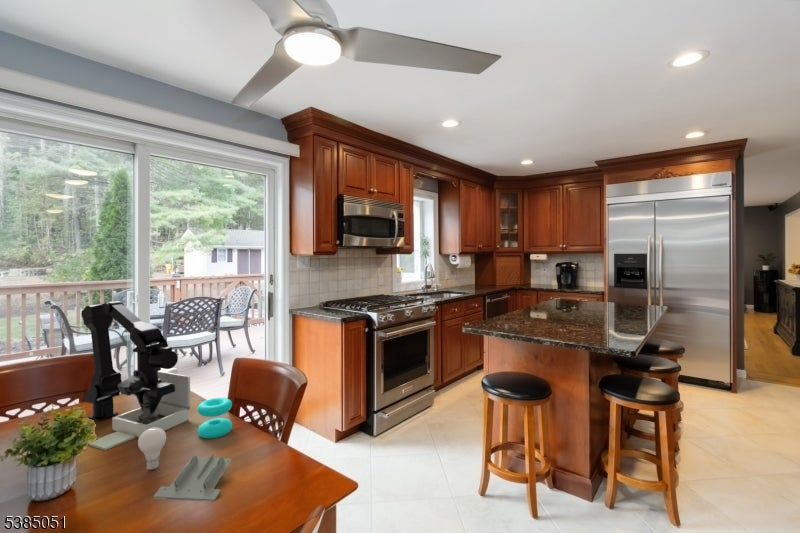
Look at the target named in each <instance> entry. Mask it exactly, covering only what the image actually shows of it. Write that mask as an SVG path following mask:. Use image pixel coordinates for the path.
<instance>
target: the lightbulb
mask: <svg viewBox="0 0 800 533" xmlns="http://www.w3.org/2000/svg"><path fill="white" fill-rule="evenodd" d="M165 431H166V430H163V429H161V428H158V427H152V428H149V429H147V430H145V431H144V432H143V433H142V434H141V435H140V437H138V440H137V447H138V449H139V450H140V451H141V453H143V455H144V457H145V459H146V469H147V470H150V471H153V470H155V469H156V468H158V467H159V465H160V464H159V460H160V458H159V457H160V455H161V451H162V449H163V447H164V445H166V441H167V434H166V432H165Z"/></svg>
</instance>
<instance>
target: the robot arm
mask: <svg viewBox="0 0 800 533" xmlns="http://www.w3.org/2000/svg"><path fill="white" fill-rule="evenodd" d="M81 318H82V322H83V325H84V326H85V327H86V328H87V329H89V331H90V335H91V336H90V337H91V344H92V353H93V360H94V361H93V362H94V370H95V372H94V374H93V376H92V378H91V380H90V388H89V389H88V390H87V392H86V393H85V394H84V401H85V403H89V404H92V414H90V415H88V416H87V418H88V417H89V418H88V419H90V418H92V419H91V420H94V419H95V421H101V420H102V421H103V420H105V419H107V418H111V417H114V416H117V415H119V411H115V410H114V409H115V408H114V405H115V404H114V397H118V396H120V395H125V396H132V395H133V396H135V397H136V399H137V401H138V404H139V406H140V408H141V409H142V411H143V406H142V404H143V395H144V394H145V393H147V390H149V392H150V394H147V395H144V396H145V397H146V398H148V400H149V409H150V413H154V412H155V410H156V408H157V406H158V404H159V402H160V400H161V398H162V397H163V396H164V395H167V394H170V393H172V392H175V385H174V384H172V383H167V382H165V383H162V384H159V385H157V383H160V382H161V379H158V371H160V370H161V368H164V369H171V368H175V366H176V365H177V364H178V360H179V358H178V357H179V356H178V355H177V353H176V352H175V351H174V350H173V347H170V346H169V344H168V342H167V339H165V337H164V335H163V333H162V331H161V330H160V328H159V327H157V326H155V325H154V324H152V323H147V322H144V321H143V320H141V319H140V318H139V317H138V316H137V315H136V314H134V313H133V312H132V311H131V310H130V309H129V308H127V307H126V306H125V304H124V302H123V301H119V300H116V301H106V302H105V303H101V304H91V305H86V306H85V307H84V308H83V309H82V311H81ZM114 320H115V321H116V322H117V323H118V324H119V325H120V326H122V327H123V328H124V329H125V330H126V331H127V332H128V333H129V340H130V341H131V342H132V343H133V345H134V346H135V347H134V348H133V349H132V352H133V353H137V354H136V357H137V358H136V360H137V362H136V363H137V369H134V370H133V372H132V373H133V374H132V376H130V377H127V378H126V379H125V380H123V381H122V374H121V372H118V371H116V370H115V369H114V366H113V357H112V346H111V340H110V330H109V329H110V326H111V325H112V323H113V321H114Z"/></svg>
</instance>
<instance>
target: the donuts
mask: <svg viewBox="0 0 800 533" xmlns="http://www.w3.org/2000/svg"><path fill="white" fill-rule="evenodd" d="M232 407H233V402H232V400H231V399H229V398H227V397H226V398H225V397H215V398H208V399H206V400H205V401H204V400H203V401H202V402H201V403H200V404H199V405H198V406H197V412H198V414H199V415H201V416H202V417H206V418H207V417H208V418H211V419H209V420H205V421H204V422H203V423H201V424H200V425H199V427H198V428H197V433H198V436H199V437H201V438H203V439H216V438H221V437H224V436H225V435H227V434H228V433H230V432H231V430H232V428H233V423H232V421H231V420H230V419H228V418H226V417H225V418H224V417H218V416H222V415H224V414H226V413H228V412H229V411H230V410H231V409H232ZM215 417H217V418H215Z"/></svg>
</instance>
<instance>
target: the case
mask: <svg viewBox="0 0 800 533" xmlns="http://www.w3.org/2000/svg"><path fill="white" fill-rule="evenodd" d="M158 379H161V382H160V383H157V385H159V384H162V383H165V382H167V383H172V384H174V385H175V392H172V393H170V394H167V395H164V396H163V397H162V398H161V400H160V402H159V404H158V406H157V408H156V410H155V411H157V412H159V414H158V415H161V416H163V417H162V418H158V419H156V420H155V421H154V422H151V423H149V424H147V425H145V424H143V423H141V422H140V421H139V418H138V416H139V415H140V414H142V412H143V411H142V409H141V407H138V408H135V409H133V410H130V411H126V412H124V413H122V414H118V415H115V416H112V419H111V420H112V421H111V422H112V425H111V426H112V431H114V432H116V431H119V432H122V433H126V434H130V435H133V436H135V437H138V438H139V437H140V435H141V434H142V433H143V432H144V431H145V430H147V429H149V428H152V427H158V428H161V429H163V430H164V431H166V430H167V431H168V430H169V429H171V428H174V427H175V426H177V425H180V424H183V423H185V422H186V421H189V410H190V409H191V376H190V375H184V374H178V373H177V374H174V373H168V372H162V371H158Z"/></svg>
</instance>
